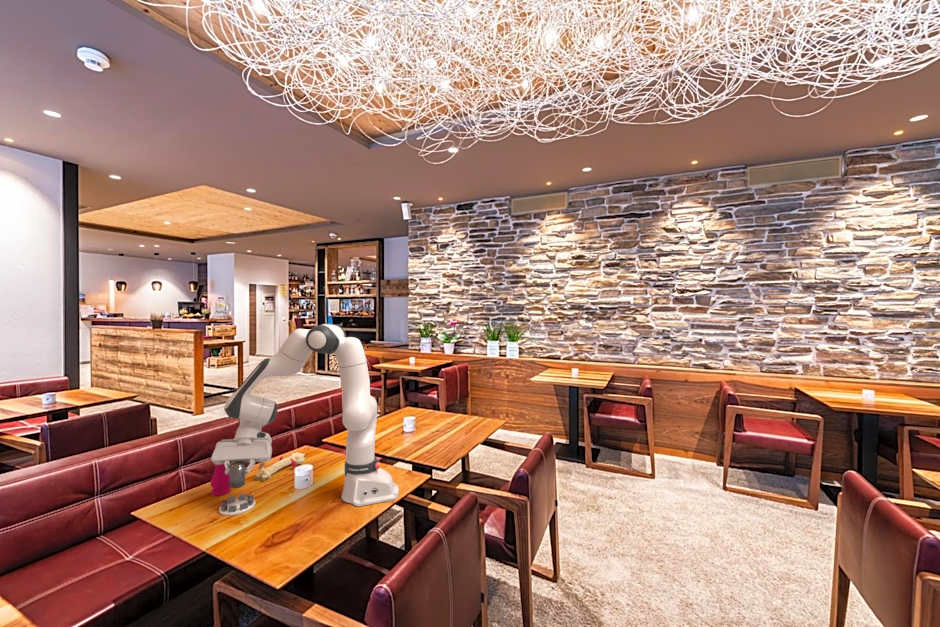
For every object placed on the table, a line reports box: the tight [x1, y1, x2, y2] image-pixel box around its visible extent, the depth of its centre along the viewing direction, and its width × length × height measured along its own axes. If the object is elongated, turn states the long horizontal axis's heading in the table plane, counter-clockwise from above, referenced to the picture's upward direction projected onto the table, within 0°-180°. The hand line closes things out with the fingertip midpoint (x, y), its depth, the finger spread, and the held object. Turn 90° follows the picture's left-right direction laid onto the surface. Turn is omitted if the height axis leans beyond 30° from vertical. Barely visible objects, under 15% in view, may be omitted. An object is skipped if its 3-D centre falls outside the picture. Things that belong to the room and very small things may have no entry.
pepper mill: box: [210, 464, 231, 497], centre depth 155 cm, size 7×7×20 cm
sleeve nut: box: [229, 461, 246, 489], centre depth 143 cm, size 5×5×8 cm
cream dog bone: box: [254, 452, 307, 482], centre depth 177 cm, size 10×9×25 cm
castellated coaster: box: [218, 493, 256, 516], centre depth 144 cm, size 12×12×3 cm
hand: (237, 473), depth 143 cm, fingers closed on sleeve nut, 5 cm apart
